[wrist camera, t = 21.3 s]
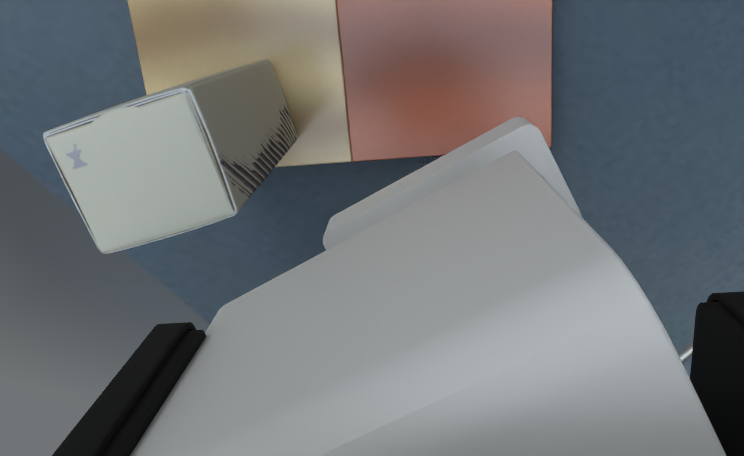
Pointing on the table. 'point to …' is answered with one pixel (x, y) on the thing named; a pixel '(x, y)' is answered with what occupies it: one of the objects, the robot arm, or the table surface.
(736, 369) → the robot arm
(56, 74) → the table surface
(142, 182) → the box
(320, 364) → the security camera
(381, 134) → the sorting board
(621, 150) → the table surface
